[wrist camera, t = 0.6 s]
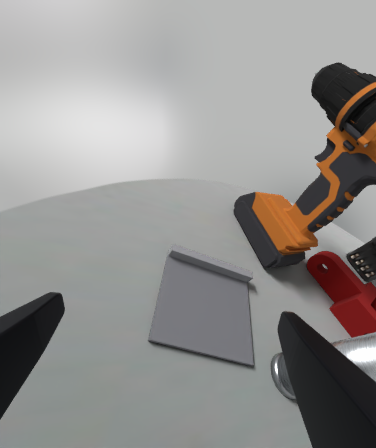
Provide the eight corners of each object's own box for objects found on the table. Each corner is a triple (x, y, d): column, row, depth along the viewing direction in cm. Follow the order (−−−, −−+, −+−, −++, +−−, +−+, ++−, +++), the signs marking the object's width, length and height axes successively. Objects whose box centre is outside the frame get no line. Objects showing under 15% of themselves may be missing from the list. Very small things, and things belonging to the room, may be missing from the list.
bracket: (250, 366, 24) (261, 363, 22) (148, 340, 21) (153, 336, 20) (244, 277, 31) (252, 271, 30) (168, 251, 29) (173, 243, 27)
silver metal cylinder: (306, 402, 24) (436, 400, 15) (274, 395, 23) (393, 389, 14) (297, 357, 27) (401, 335, 18) (268, 349, 26) (364, 322, 17)
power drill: (216, 183, 44) (315, 36, 26) (243, 186, 48) (345, 59, 30) (268, 282, 33) (498, 141, 15) (298, 276, 36) (511, 156, 19)
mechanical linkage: (379, 336, 36) (413, 328, 32) (367, 359, 32) (405, 354, 28) (312, 256, 42) (334, 242, 39) (294, 267, 38) (317, 253, 34)
